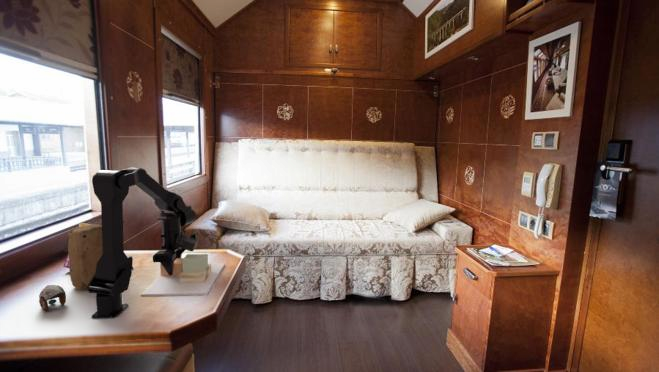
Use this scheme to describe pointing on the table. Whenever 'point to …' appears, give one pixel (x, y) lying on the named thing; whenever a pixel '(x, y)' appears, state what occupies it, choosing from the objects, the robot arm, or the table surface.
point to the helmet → (51, 296)
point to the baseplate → (182, 285)
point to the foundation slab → (195, 276)
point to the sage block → (195, 262)
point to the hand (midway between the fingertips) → (173, 271)
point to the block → (84, 253)
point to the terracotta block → (176, 269)
